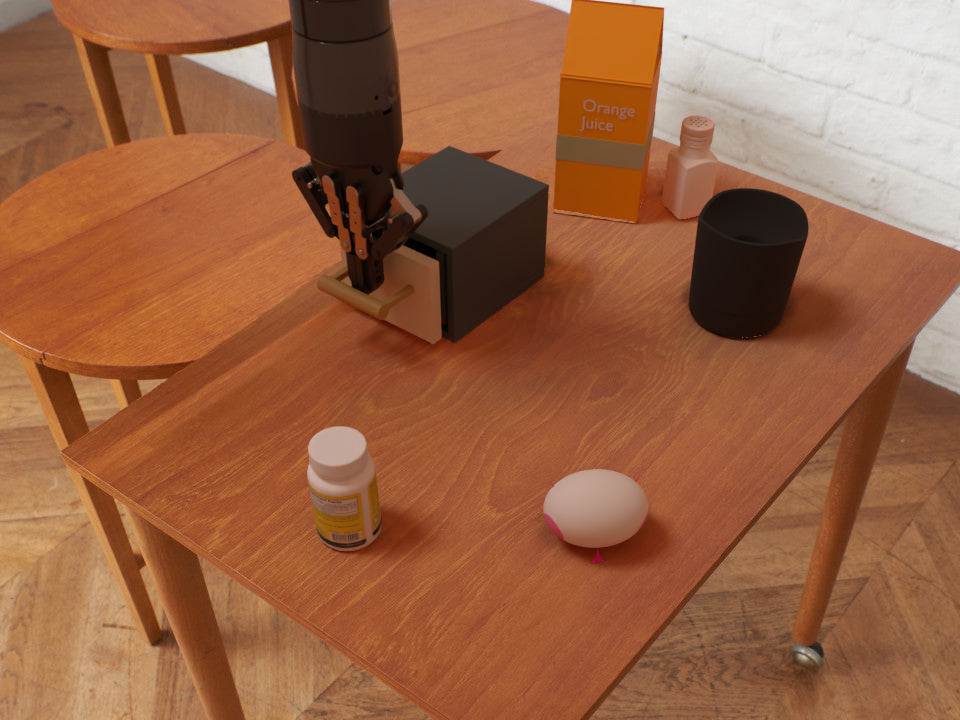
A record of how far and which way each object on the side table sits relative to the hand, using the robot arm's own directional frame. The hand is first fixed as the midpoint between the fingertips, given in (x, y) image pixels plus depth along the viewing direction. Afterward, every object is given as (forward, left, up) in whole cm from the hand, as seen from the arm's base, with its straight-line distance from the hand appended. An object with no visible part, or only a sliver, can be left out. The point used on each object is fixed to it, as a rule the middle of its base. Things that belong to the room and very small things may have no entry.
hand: (367, 288), depth 89 cm
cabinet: (+11, 0, -6) cm, 12 cm away
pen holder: (+24, -23, -6) cm, 34 cm away
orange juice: (+33, -2, -6) cm, 34 cm away
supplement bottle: (-18, -14, -6) cm, 23 cm away
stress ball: (-7, -28, -6) cm, 29 cm away
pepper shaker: (+37, -10, -6) cm, 39 cm away
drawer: (+6, 0, -5) cm, 8 cm away
